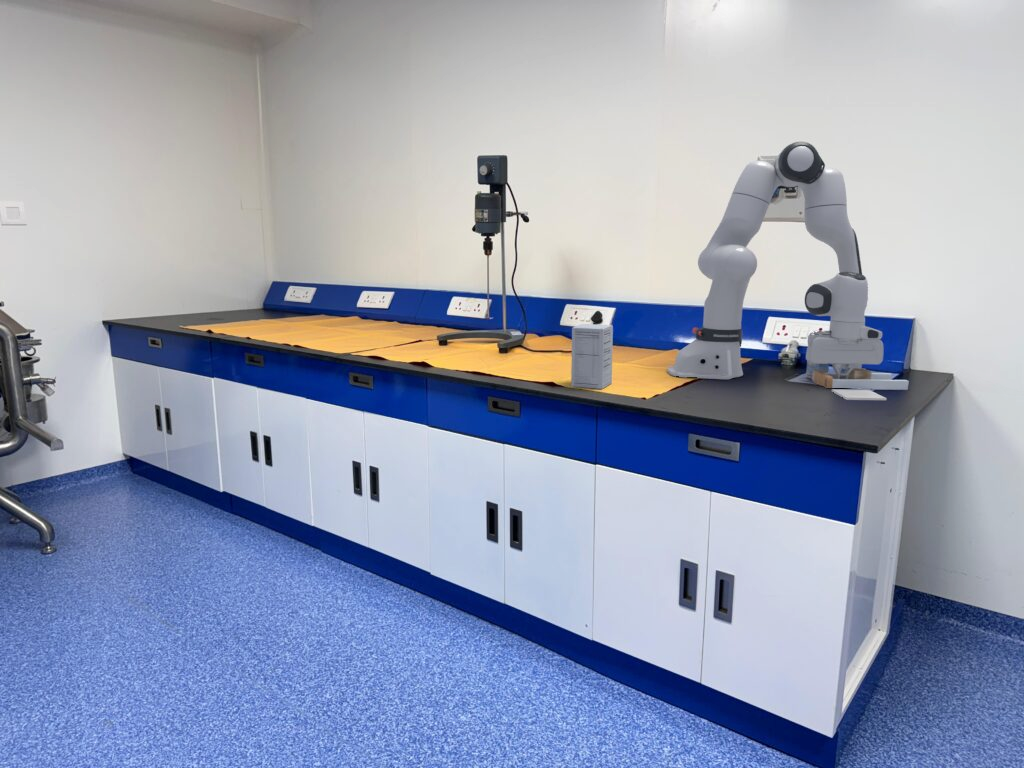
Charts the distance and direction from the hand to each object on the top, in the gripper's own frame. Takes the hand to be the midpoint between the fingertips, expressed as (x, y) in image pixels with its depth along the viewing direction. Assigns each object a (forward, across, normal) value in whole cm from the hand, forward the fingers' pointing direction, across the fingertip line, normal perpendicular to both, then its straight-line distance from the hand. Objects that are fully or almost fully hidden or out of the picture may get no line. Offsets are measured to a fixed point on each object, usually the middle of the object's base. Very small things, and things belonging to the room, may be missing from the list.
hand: (841, 379), depth 199 cm
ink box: (+2, +8, +14) cm, 16 cm away
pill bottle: (+2, -3, +10) cm, 11 cm away
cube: (+2, +5, 0) cm, 5 cm away
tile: (+2, -1, -14) cm, 14 cm away
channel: (+2, +5, 0) cm, 5 cm away
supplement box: (+2, -71, -5) cm, 71 cm away
